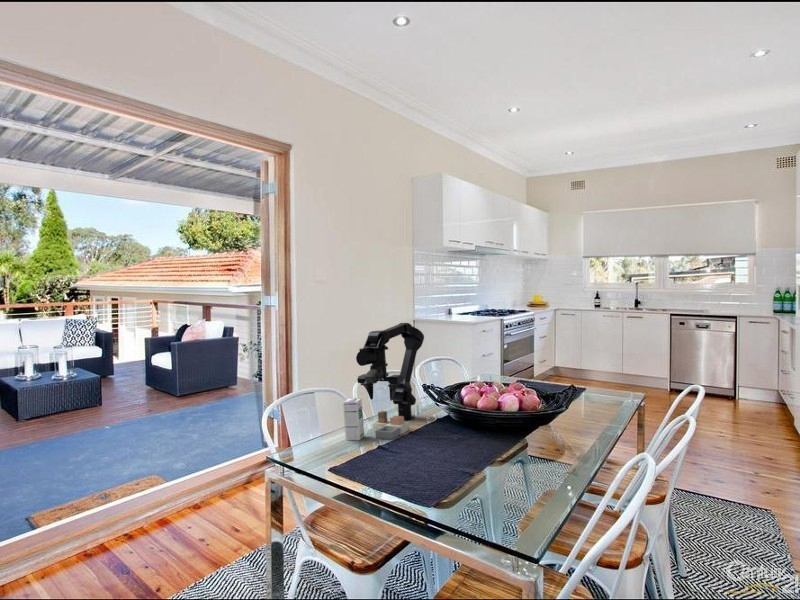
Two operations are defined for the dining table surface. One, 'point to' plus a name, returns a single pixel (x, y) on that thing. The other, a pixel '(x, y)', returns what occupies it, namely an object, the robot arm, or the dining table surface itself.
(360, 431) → the syrup box
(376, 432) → the tray
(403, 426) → the deck
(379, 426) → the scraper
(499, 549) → the dining table surface
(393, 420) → the tile
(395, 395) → the robot arm
